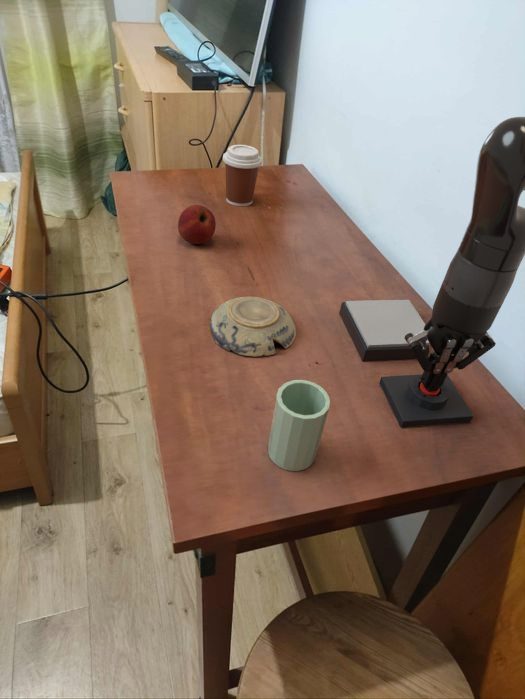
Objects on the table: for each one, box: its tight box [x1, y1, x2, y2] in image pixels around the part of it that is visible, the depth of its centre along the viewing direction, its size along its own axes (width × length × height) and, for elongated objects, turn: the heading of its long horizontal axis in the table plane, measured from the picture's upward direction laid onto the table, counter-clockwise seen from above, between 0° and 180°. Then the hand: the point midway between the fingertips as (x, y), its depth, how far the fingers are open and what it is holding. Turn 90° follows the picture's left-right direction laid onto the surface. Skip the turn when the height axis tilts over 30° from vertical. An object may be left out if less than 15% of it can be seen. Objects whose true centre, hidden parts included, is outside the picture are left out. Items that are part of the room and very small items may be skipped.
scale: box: [338, 299, 430, 362], centre depth 87 cm, size 13×13×3 cm
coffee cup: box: [222, 144, 263, 207], centre depth 119 cm, size 9×9×12 cm
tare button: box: [419, 383, 440, 397], centre depth 75 cm, size 3×3×2 cm
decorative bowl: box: [209, 295, 297, 358], centre depth 84 cm, size 15×4×15 cm
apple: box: [177, 204, 217, 245], centre depth 103 cm, size 7×8×8 cm
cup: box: [267, 379, 331, 472], centre depth 63 cm, size 6×6×10 cm
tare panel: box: [378, 373, 475, 428], centre depth 75 cm, size 11×9×3 cm
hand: (429, 386), depth 74 cm, fingers closed
